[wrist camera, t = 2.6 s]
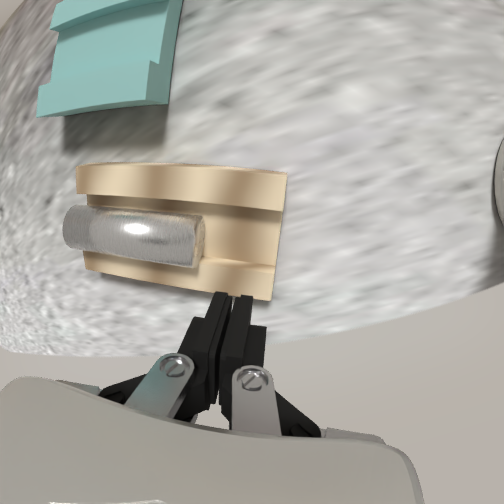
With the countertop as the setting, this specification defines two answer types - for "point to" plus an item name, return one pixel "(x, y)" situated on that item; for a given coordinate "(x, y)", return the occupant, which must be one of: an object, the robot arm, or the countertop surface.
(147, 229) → the axle
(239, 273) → the wooden grooved block
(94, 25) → the cradle
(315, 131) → the countertop surface
